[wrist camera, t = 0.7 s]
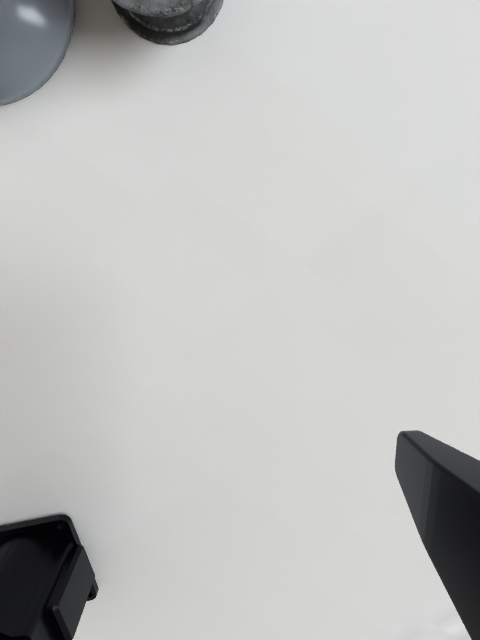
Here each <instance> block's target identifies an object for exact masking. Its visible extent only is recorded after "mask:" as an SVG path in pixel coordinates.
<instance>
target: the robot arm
mask: <svg viewBox="0 0 480 640" xmlns="http://www.w3.org/2000/svg"><path fill="white" fill-rule="evenodd" d="M395 471H396V475H397V478H398V481H399V483H400V486H401V488H402V491H403V493H404V496H405V499H406V501H407V504H408V506H409V509H410V512H411V514H412V517H413V519H414V522H415V525H416V527H417V530H418V532H419V535H420V537H421V540H422V542H423V544H424V546H425V549H426V551H427V553H428V555H429V557H430V559H431V561H432V563H433V565H434V567H435V569H436V571H437V573H438V575H439V576H440V578H441V580H442V582H443V584H444V586H445V588H446V590H447V592H448V594H449V596H450V598H451V600H452V602H453V604H454V606H455V608H456V610H457V612H458V614H459V616H460V618H461V620H462V622H463V624H464V626H465V628H466V629H467V631H468V633H469V635H470V637H471V639H472V640H480V461H479V460H477V459H475V458H473V457H471V456H469V455H467V454H465V453H463V452H461V451H459V450H457V449H455V448H453V447H451V446H449V445H447V444H445V443H443V442H441V441H439V440H437V439H435V438H433V437H431V436H429V435H427V434H425V433H423V432H421V431H417V430H415V431H401V432H400V433H399V434H398V437H397V446H396V457H395ZM60 523H63V524H64V525H62V524H60ZM97 593H98V586H97V583H96V580H95V574H94V572H93V569H92V567H91V564H90V562H89V559H88V557H87V554H86V552H85V549H84V547H83V546H82V545H81V543H80V540H79V538H78V535H77V533H76V530H75V527H74V525H73V522H72V520H71V518H70V517H68V516H66V515H59V516H54V517H49V518H44V519H39V520H34V521H29V522H24V523H19V524H14V525H9V526H4V527H0V640H72V639H73V637H74V635H75V632H76V629H77V626H78V623H79V620H80V618H81V615H82V612H83V609H84V606H85V603H86V601H90V600H93V599H95V598H96V596H97Z"/></svg>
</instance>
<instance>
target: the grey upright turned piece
mask: <svg viewBox="0 0 480 640" xmlns="http://www.w3.org/2000/svg"><path fill="white" fill-rule="evenodd" d="M112 2H113V4H114V6H115V9H116V11H117V13H118V14H119V15H120V17H121V18H122V19H123V20H124V22H125V23H126V24H127V25H128V26H129V28H131V29H132V30H133V31H135V32H136V33H137V34H139V35H140V36H141V37H143V38H145V39H148V40H150V41H153V42H155V43H158V44H168V45H175V44H180V43H185V42H189V41H190V40H192V39H194V38H196V37H197V36H199V35H201V34H202V33H203V32H204V31H205V30H206V29H207V28H208V27H209V26H210V25H211V24H212V23H213V22H214V20H215V18H216V16H217V14H218V13H219V11H220V9H221V7H222V4H223V0H112Z"/></svg>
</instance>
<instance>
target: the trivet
mask: <svg viewBox="0 0 480 640" xmlns="http://www.w3.org/2000/svg"><path fill="white" fill-rule="evenodd" d="M74 9H75V0H0V105H6V104H9V103H12V102H16V101H19V100H21V99H23V98H25V97H27V96H29V95H31V94H32V93H34V92H35V91H36V90H38V89H39V88H40V87H42V86H43V85H44V84H45V83H46V82H47V81H48V80H49V79H50V78H51V76H52V75H53V74H54V72H55V71H56V70H57V68H58V67H59V65H60V63H61V61H62V60H63V58H64V55H65V53H66V50H67V48H68V46H69V42H70V38H71V34H72V30H73V23H74Z"/></svg>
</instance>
